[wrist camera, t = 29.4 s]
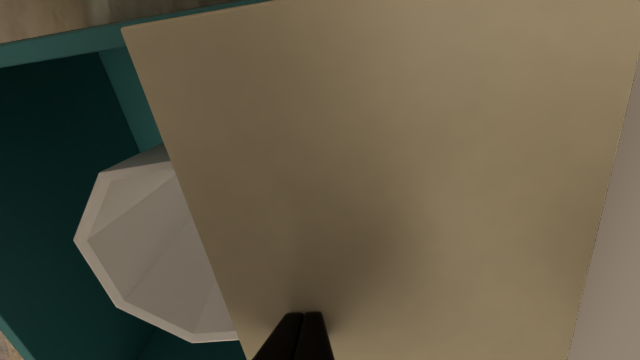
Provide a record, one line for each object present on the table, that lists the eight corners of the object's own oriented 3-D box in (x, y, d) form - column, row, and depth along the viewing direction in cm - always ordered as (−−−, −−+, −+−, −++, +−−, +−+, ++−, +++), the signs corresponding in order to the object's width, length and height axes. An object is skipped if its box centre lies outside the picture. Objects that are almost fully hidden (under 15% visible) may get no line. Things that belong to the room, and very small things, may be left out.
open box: (467, -41, 13) (637, -69, 5) (460, 253, 20) (531, 447, 12) (85, 27, 16) (-204, 81, 8) (188, 270, 22) (89, 440, 14)
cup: (187, 61, 16) (49, 127, 9) (414, 109, 16) (459, 213, 9) (186, 197, 19) (86, 324, 12) (373, 236, 19) (382, 384, 12)
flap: (649, -66, 5) (671, -69, 5) (534, 461, 11) (540, 476, 11) (131, 25, 6) (118, 27, 6) (289, 454, 13) (287, 468, 12)
